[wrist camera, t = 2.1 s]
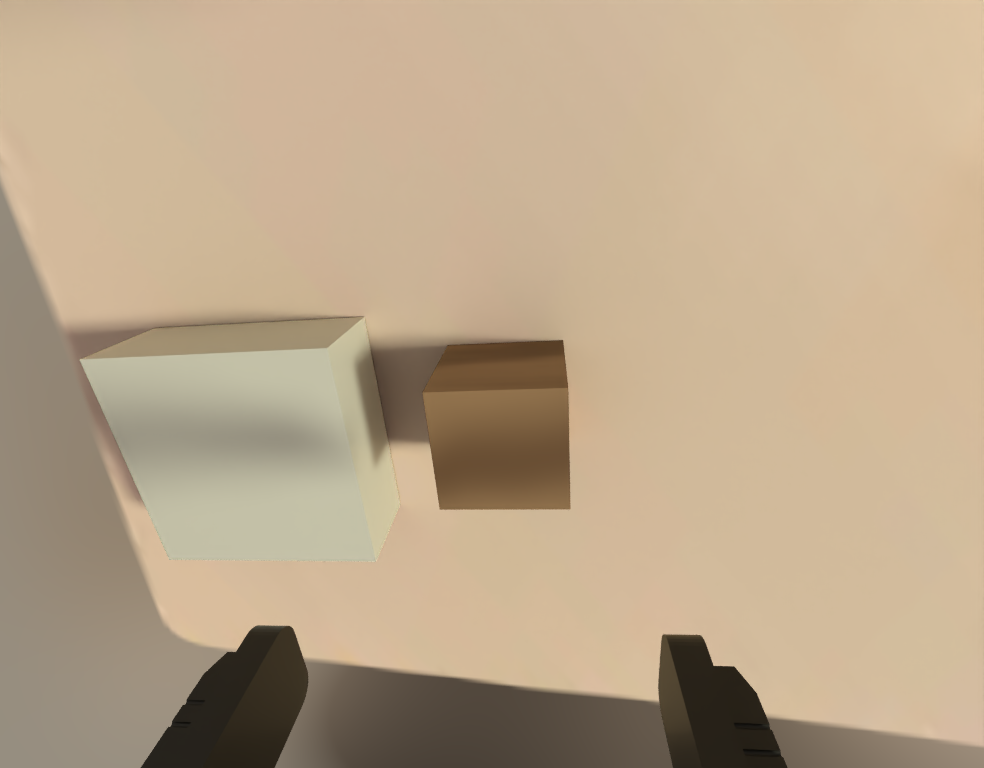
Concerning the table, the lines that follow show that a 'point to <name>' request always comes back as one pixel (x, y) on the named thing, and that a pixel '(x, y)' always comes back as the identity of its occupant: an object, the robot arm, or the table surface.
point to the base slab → (253, 438)
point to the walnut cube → (500, 426)
